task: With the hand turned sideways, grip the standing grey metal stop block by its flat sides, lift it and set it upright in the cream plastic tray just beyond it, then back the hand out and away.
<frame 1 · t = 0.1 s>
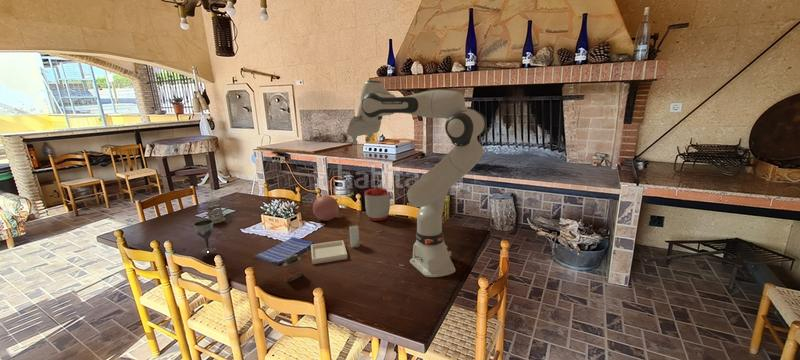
hand: (361, 142, 161), 52 cm above the table, tool tilted 20°, fingers open, 8 cm apart
stop block: (354, 245, 170), on the table
lighter: (293, 277, 142), on the table
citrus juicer: (379, 217, 207), on the table
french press: (218, 220, 210), on the table
wine glass: (208, 250, 169), on the table
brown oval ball: (329, 218, 208), on the table
dish towel: (286, 252, 166), on the table
tray: (328, 253, 162), on the table
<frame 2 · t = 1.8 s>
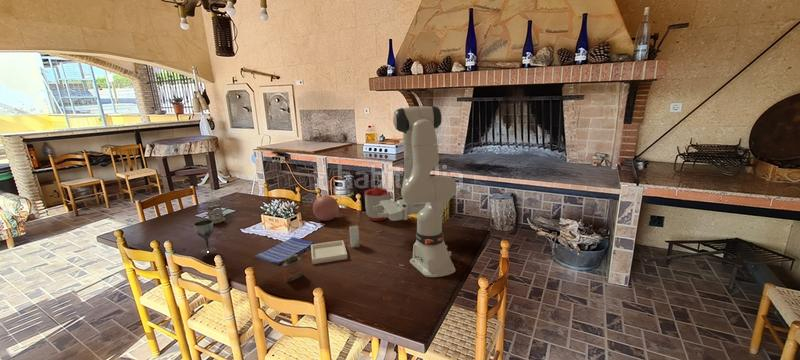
hand: (375, 211, 169), 17 cm above the table, tool horizontal, fingers open, 8 cm apart
nothing on the table moved.
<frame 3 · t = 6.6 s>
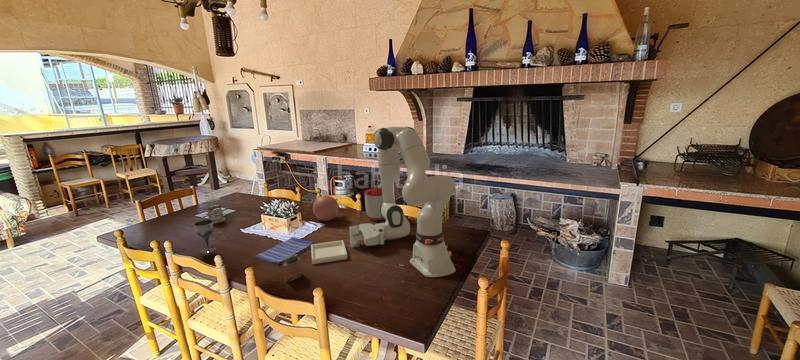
hand: (352, 235, 169), 6 cm above the table, tool horizontal, fingers closed on stop block, 4 cm apart
stop block: (354, 245, 170), on the table, touching gripper
everything else where it was.
when the fingers open (8 cm above the table, at t = 12.8 s): stop block drops 1 cm, resting on tray.
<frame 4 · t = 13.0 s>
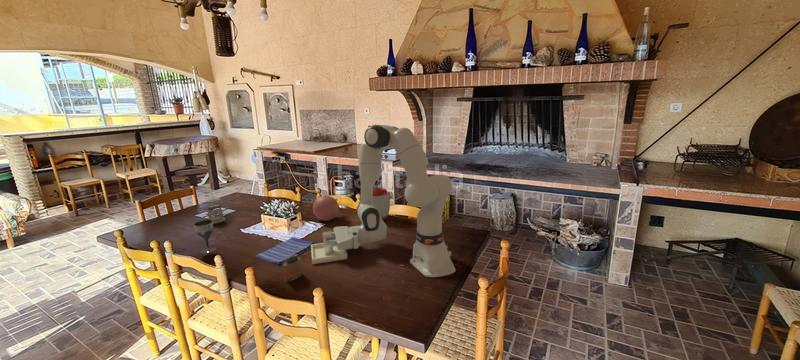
hand: (325, 239, 160), 8 cm above the table, tool horizontal, fingers open, 6 cm apart
stop block: (328, 252, 162), point 1 cm above the table, touching tray
everything else where it was.
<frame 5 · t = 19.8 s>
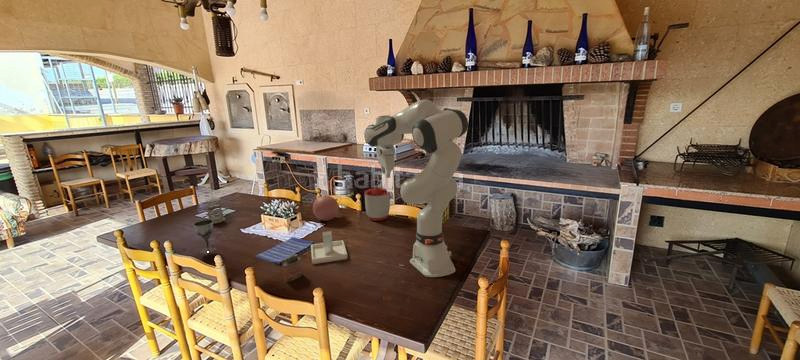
hand: (385, 175, 170), 34 cm above the table, tool pointing down, fingers open, 8 cm apart
nothing on the table moved.
at the end: stop block inside the target area on the tray (0.1 cm from its centre), point 0.8 cm above the tray's base; stop block tilted 0°; the gripper is holding nothing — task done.
